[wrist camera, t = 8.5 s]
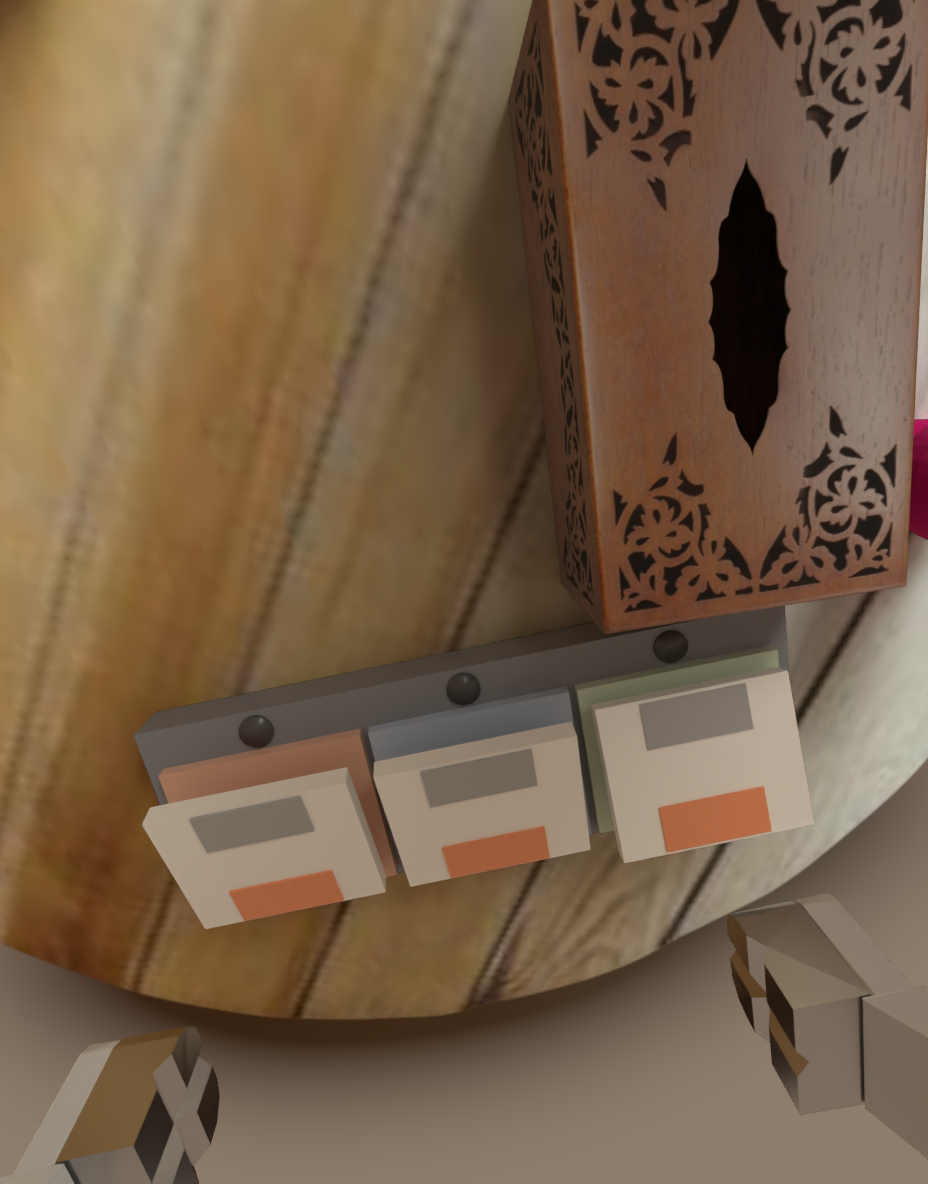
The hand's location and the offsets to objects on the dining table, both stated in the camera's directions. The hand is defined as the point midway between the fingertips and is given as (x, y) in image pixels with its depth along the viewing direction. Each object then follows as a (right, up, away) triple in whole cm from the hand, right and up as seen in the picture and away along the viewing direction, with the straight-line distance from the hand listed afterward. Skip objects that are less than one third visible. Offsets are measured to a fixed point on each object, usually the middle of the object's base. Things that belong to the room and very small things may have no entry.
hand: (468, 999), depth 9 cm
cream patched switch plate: (-11, -9, +26) cm, 29 cm away
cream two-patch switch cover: (+14, -4, +26) cm, 29 cm away
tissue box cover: (+11, +20, +26) cm, 35 cm away
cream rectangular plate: (+1, -6, +26) cm, 27 cm away
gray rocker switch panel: (+1, -4, +31) cm, 31 cm away
